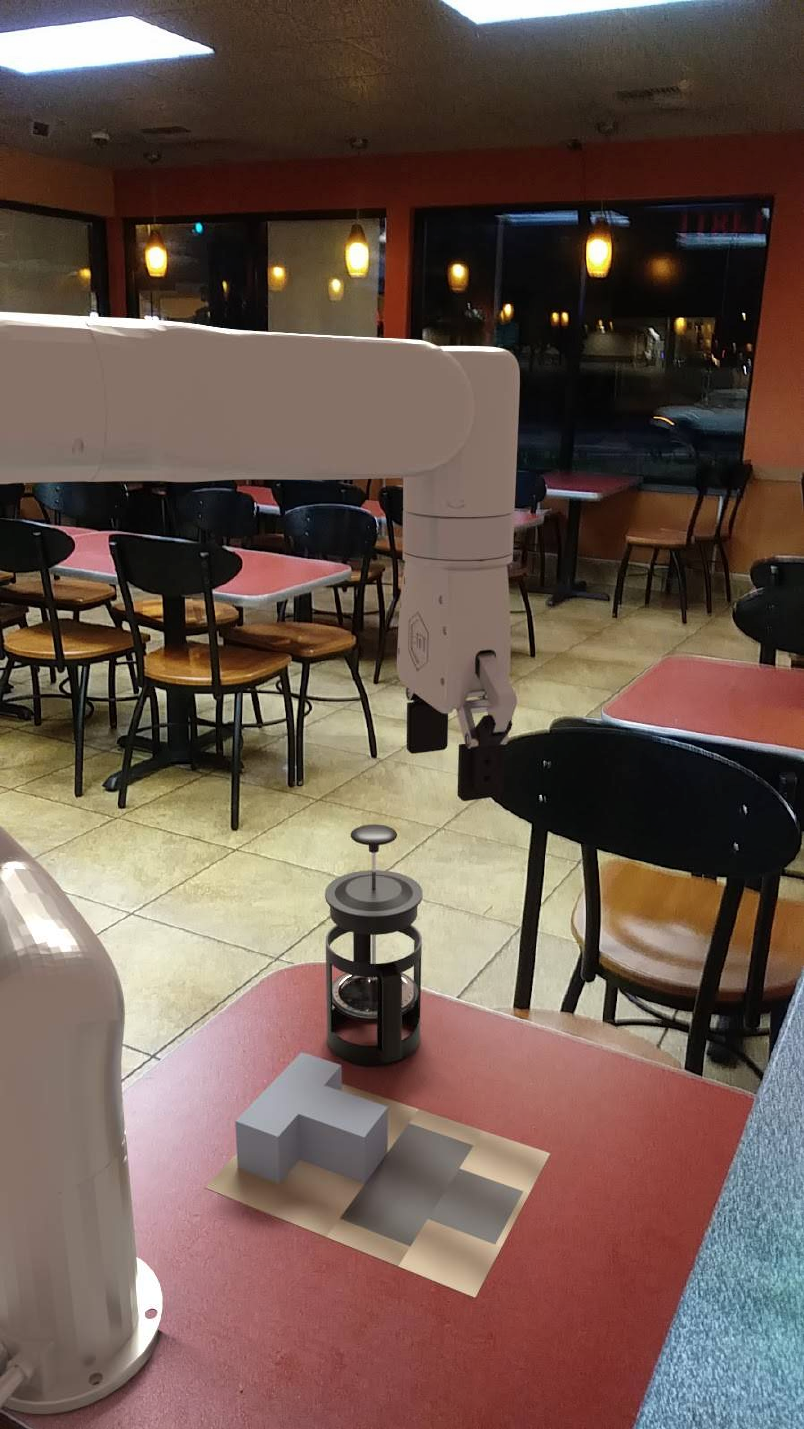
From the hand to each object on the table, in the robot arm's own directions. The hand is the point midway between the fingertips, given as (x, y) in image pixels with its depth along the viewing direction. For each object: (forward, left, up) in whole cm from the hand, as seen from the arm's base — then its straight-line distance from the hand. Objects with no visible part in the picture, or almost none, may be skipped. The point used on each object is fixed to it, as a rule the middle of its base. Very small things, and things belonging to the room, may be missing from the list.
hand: (452, 772), depth 78 cm
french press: (+10, +12, -35) cm, 38 cm away
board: (-5, +3, -35) cm, 35 cm away
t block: (-5, +9, -33) cm, 35 cm away
